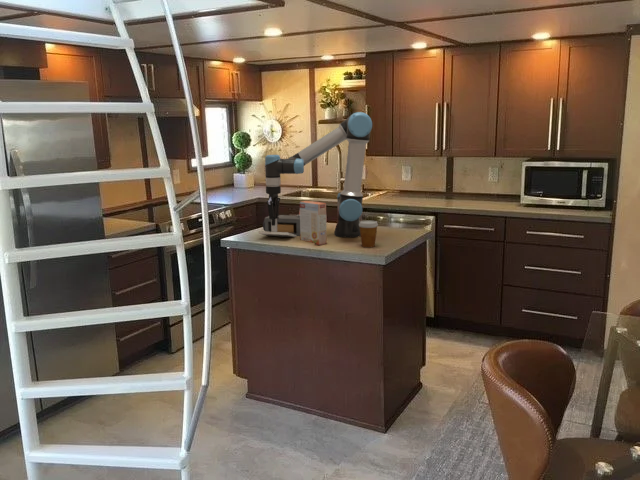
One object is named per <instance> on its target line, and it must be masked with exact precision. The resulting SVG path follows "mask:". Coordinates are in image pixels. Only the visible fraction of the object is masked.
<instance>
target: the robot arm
mask: <svg viewBox="0 0 640 480" xmlns="http://www.w3.org/2000/svg"><path fill="white" fill-rule="evenodd" d="M372 129H373V121H372V118H371V117H370V116H369V115H368V114H367V113H366V112H362V111H357V112H353V113H352V114H350V115H349V116H348V117H347V118H346V119H345V120H343V121H342V122H341V123H339V124H338V127H337V128H334V129H333V130H332V131H330V132H329V133H327V134H325V135H323V136H322V137H321V138H319V139H317V140H315V141H314V142H312V143H311V144H309V145H308V146H306V147H304V148H303V149H301V150H300V151H298V152H297V153H295V154H293V155H292V156H290V157H288V158H281V155H280V154H267V155H266V156H265V157H264V169H265V170H264V171H265V173H264V174H265V175H264V176H265V179H264V180H265V194H268V200H266V205H267V210H268V216H269V219H271V232H277V218H278V219H279V217H278V216H279V215H280V201H281V197H279V194H281V193H282V187H281V182H282V181H281V175H284V174H285V175H291V174H293V175H294V174H295V175H298V174H301V175H302V174H303V173H304V172H305V167H304V166H306V165H308V164H310V163H312V161H314V160H316V159H317V158H319V157H320V156H322V155H324V154H326V153H327V152H329V151H330V150H332V149H333V148H335V147H337V146H338V145H340V144H341V143H343V142H345V141H347V142H348V144H347V145H348V146H347V154H346V155H347V157H346V165H345V173H344V174H345V175H344V183H343V190H342V191H341V192H338V193H337V197H336V200H337V203H336V204H337V221H336V225H335V227H334V232H333V233H334V236H335V237H339V238H358V236H359V237H361V234H360V227H359V223H360V218H361V216H362V214H363V197H364V194H363V193H362V192H361V189H362V181H363V173H364V163H365V155H366V145H367V144H368V143H369V142H370V139H371V138H370V137H371V131H372Z"/></svg>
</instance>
